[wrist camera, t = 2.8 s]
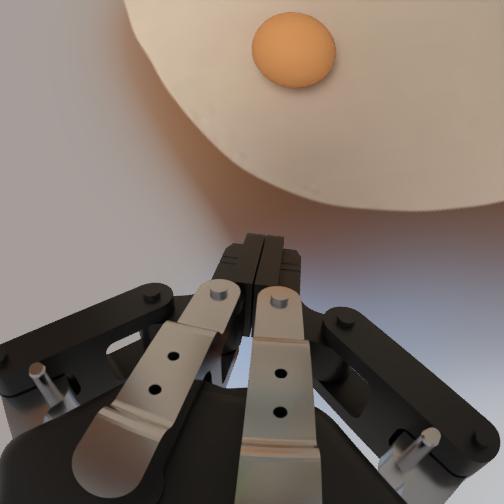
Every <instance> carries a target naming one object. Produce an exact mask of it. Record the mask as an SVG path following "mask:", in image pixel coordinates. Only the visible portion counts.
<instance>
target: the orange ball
mask: <svg viewBox="0 0 504 504" xmlns="http://www.w3.org/2000/svg"><path fill="white" fill-rule="evenodd" d="M252 54H253V58H254V61H255V64H256V66H257V67H258V69H259V70H260V71H261V73H262V74H263V75H264V76H265V77H267V78H268V79H269V80H271V81H272V82H274V83H276V84H279V85H281V86H285V87H291V88H300V87H306V86H310V85H313V84H315V83H317V82H318V81H320V80H321V79H323V78H324V77H325V76H326V75H327V74H328V72H329V71H330V69H331V68H332V66H333V63H334V60H335V54H336V52H335V43H334V40H333V38H332V36H331V34H330V32H329V31H328V29H327V28H326V27H325V26H324V25H323V24H322V23H321V22H319V21H318V20H317V19H315V18H313V17H311V16H309V15H306V14H302V13H295V12H289V13H282V14H278V15H276V16H273V17H271V18H269V19H268V20H267V21H265V22H264V23H263V24H262V25H261V26H260V27H259V28H258V30H257V32H256V34H255V36H254V39H253V43H252Z"/></svg>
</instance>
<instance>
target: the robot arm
mask: <svg viewBox="0 0 504 504" xmlns="http://www.w3.org/2000/svg"><path fill="white" fill-rule="evenodd" d="M283 246H284V237H281V236H271V235H267V236H266V240H265V235H262V234H252V233H247V236H246V238H245V241H244V244H235V243H233V244H232V245H230V246H229V247H227V248H226V249H225V251H224V253H223V256H222V258H221V260H220V263H219V264H218V266H217V269H216V271H215V273H214V275H213V277H212V280H209V281H207V282H204V283H203V284H202V285H200V287H199V288H198V290H197V291H196V293H195V294H193V295H186V296H173V291H172V289H171V288H170V287H168V286H167V285H165V284H161V283H149V284H145V285H142V286H139V287H137V288H135V289H132V290H130V291H127V292H125V293H122V294H120V295H117V296H115V297H113V298H110V299H108V300H106V301H103V302H101V303H98V304H96V305H93V306H91V307H88V308H86V309H84V310H81V311H79V312H77V313H74V314H72V315H69V316H67V317H64V318H62V319H60V320H57V321H55V322H52V323H50V324H48V325H45V326H43V327H41V328H38V329H36V330H33V331H31V332H29V333H26V334H24V335H22V336H19V337H17V338H14V339H12V340H10V341H7V342H5V343H3V344H0V396H1V398H2V401H3V405H4V409H5V413H6V417H7V420H8V424H9V427H10V431H11V434H12V437H13V440H11V442H10V443H9V444H8V445H7V446H6V447H5V449H4V451H3V453H2V455H1V458H0V504H444V503H445V502H446V501H447V500H448V498H449V497H450V496H451V495H452V494H453V493H454V491H455V490H456V489H457V488H458V487H459V485H460V484H461V483H462V482H463V481H465V480H466V479H467V478H469V477H470V476H472V475H473V474H474V473H475V472H477V471H478V470H480V469H481V468H482V467H483V466H485V465H486V464H487V463H488V462H490V461H491V460H492V459H493V458H494V457H495V456H496V455H497V453H498V451H499V448H500V437H499V433H498V431H497V430H496V428H495V427H494V426H493V425H492V423H490V422H489V421H488V420H487V419H486V418H485V417H484V416H482V415H481V414H480V413H479V412H478V411H477V410H475V409H474V408H473V407H472V406H471V405H470V404H469V403H467V402H466V401H465V400H464V399H463V398H462V397H460V396H459V395H458V394H457V393H456V392H454V391H453V390H452V389H451V388H450V387H449V386H448V385H446V384H445V383H444V382H443V381H442V380H440V379H439V378H438V377H437V376H436V375H435V374H433V373H432V372H431V371H430V370H429V369H427V368H426V367H425V366H424V365H423V364H421V363H420V362H419V361H418V360H417V359H415V358H414V357H413V356H412V355H411V354H410V353H408V352H407V351H406V350H405V349H403V348H402V347H401V346H400V345H399V344H397V343H396V342H395V341H394V340H393V339H391V338H390V337H389V336H388V335H387V334H385V333H384V332H383V331H382V330H380V329H379V328H378V327H377V326H376V325H374V324H373V323H372V322H370V321H369V320H368V319H367V318H366V317H365V316H363V315H362V314H361V313H360V312H358V311H356V310H354V309H351V308H348V307H334V308H331V309H329V310H328V311H327V312H326V313H325V314H321V313H318V312H316V311H313V310H311V309H309V308H308V307H307V306H305V305H304V304H303V302H302V301H301V298H300V273H301V271H300V270H301V257H300V255H299V254H298V252H297V251H296V250H290V249H283ZM251 328H252V334H251V337H253V342H252V353H251V362H250V371H249V380H248V388H231V389H227V388H226V386H227V383H228V380H229V378H230V375H231V372H232V369H233V367H234V364H235V361H236V359H237V356H238V352H239V345H240V343H241V339H242V336H246V337H249V336H250V332H251ZM138 331H139V332H140V336H141V339H140V340H138V341H136V342H133V343H131V344H129V345H127V346H125V347H123V348H121V349H119V350H116V351H115V352H112V353H110V354H106V351H107V348H108V347H109V346H110V345H111V344H112V343H114V342H116V341H118V340H121V339H123V338H125V337H127V336H129V335H131V334H134V333H136V332H138ZM352 368H353V369H354V370H355V371H354V370H353V369H352ZM313 388H314V389H315V390H316V391H317V392H318V393H319V394H320V396H321V397H322V398H323V399H324V400H325V401H326V402H327V403H328V404H329V405H330V406H331V408H332V409H333V410H334V411H335V412H336V413H337V414H338V415H339V416H340V417H341V418H342V419H343V421H345V423H346V424H347V425H348V426H349V427H350V428H351V429H352V430H353V431H354V432H355V433H356V434H357V436H358V437H360V439H361V440H362V441H363V442H364V443H365V444H366V445H367V446H368V447H369V448H370V449H371V450H372V451H373V452H374V453H375V454H376V455H377V456H378V457H379V458H380V460H379V463H378V471H377V469H376V468H375V467H374V466H373V465H372V464H371V463H370V462H369V460H368V459H367V458H366V457H365V456H364V455H363V454H362V453H361V451H360V450H359V449H358V448H357V447H356V446H355V444H354V443H353V442H352V441H351V440H350V439H349V438H348V436H347V435H346V434H345V433H344V432H343V430H341V428H340V427H339V426H338V425H337V424H336V422H335V421H334V420H333V419H332V418H331V417H329V416H328V415H327V414H326V413H324V412H323V411H322V410H320V409H318V408H316V407H314V396H313Z"/></svg>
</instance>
